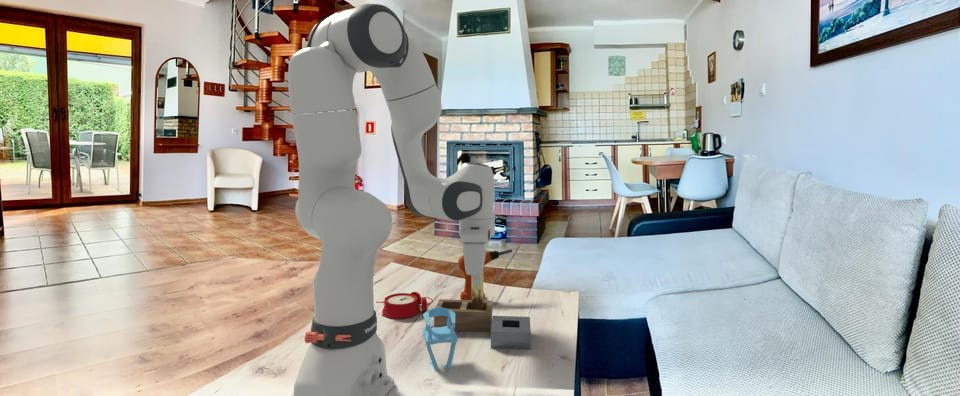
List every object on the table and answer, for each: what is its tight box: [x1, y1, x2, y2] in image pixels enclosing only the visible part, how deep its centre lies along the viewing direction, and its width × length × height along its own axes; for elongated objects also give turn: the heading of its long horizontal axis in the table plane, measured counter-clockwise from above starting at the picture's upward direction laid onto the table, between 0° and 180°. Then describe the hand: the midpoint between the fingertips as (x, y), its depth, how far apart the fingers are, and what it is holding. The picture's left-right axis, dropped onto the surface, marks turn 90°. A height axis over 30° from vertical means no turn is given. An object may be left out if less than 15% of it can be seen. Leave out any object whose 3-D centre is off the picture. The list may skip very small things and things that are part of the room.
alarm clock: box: [375, 291, 434, 320], centre depth 126 cm, size 10×6×15 cm
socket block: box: [490, 315, 532, 351], centre depth 106 cm, size 9×9×5 cm
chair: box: [422, 306, 458, 371], centre depth 95 cm, size 8×8×12 cm
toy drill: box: [457, 248, 513, 300], centre depth 137 cm, size 5×19×15 cm, turn 115°
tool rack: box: [433, 298, 493, 333], centre depth 114 cm, size 8×14×6 cm, turn 85°
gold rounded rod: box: [472, 268, 485, 309], centre depth 113 cm, size 3×3×10 cm
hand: (477, 281), depth 113 cm, fingers closed on gold rounded rod, 3 cm apart
